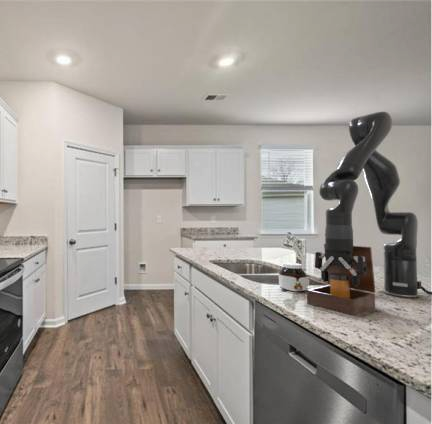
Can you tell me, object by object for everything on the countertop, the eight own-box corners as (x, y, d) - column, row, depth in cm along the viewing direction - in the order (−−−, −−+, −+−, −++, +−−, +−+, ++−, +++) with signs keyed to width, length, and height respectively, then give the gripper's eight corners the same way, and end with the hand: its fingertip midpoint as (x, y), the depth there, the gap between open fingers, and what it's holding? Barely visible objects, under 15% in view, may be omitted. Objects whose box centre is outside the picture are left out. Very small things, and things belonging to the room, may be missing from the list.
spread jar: (280, 292, 116) (280, 264, 117) (276, 286, 127) (275, 260, 127) (315, 295, 112) (314, 266, 112) (307, 288, 122) (306, 262, 123)
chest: (353, 318, 87) (353, 300, 87) (307, 306, 99) (306, 289, 99) (375, 310, 93) (374, 293, 93) (328, 300, 106) (328, 284, 106)
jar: (334, 302, 100) (334, 272, 100) (354, 307, 95) (353, 275, 95) (326, 305, 97) (325, 273, 98) (345, 310, 92) (345, 276, 92)
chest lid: (370, 247, 92) (371, 247, 93) (323, 244, 105) (325, 243, 105) (374, 292, 93) (375, 291, 94) (328, 283, 105) (329, 283, 106)
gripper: (370, 238, 92) (371, 287, 92) (321, 235, 104) (322, 278, 104) (359, 239, 88) (359, 290, 88) (310, 236, 101) (311, 280, 101)
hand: (339, 283), depth 96 cm, fingers open, 8 cm apart
